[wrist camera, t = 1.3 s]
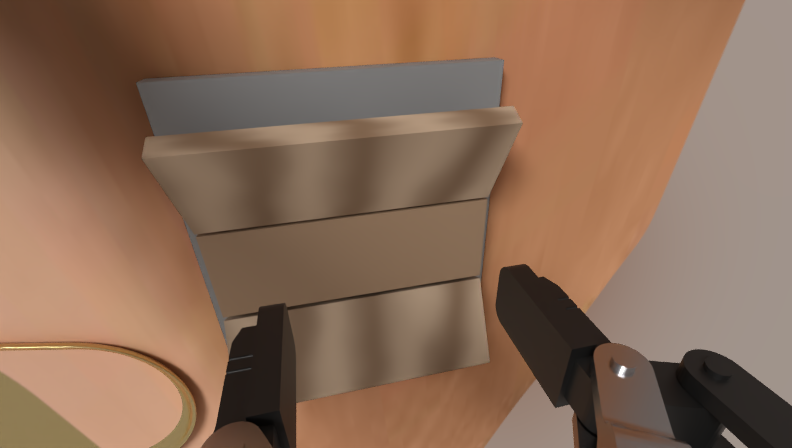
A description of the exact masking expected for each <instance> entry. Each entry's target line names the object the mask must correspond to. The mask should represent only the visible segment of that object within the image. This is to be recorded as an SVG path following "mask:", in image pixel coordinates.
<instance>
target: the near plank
mask: <svg viewBox="0 0 792 448" xmlns="http://www.w3.org/2000/svg"><path fill="white" fill-rule="evenodd" d="M522 124H523V123H522V121H521V119H520V117H519V115H518V113H517V111H516V109H515V108H514V106H506V107H494V108H483V109H471V110H459V111H447V112H435V113H424V114H412V115H400V116H388V117H377V118H365V119H353V120H341V121H330V122H318V123H306V124H294V125H283V126H271V127H259V128H247V129H235V130H224V131H212V132H200V133H188V134H177V135H165V136H153V137H145V142H144V148H143V153H142V160H143V162H144V163H145V164H146V166H147V167H148V169H149V170H150V172H151V173H152V174H153V176H154V177H155V179H156V180H157V182H158V183H159V184H160V186H161V187H162V189H163V190H164V192H165V193H166V195H167V196H168V197H169V199H170V200H171V202H172V203H173V205H174V206H175V207H176V209H177V210H178V212H179V213H180V215H181V216H182V217H183V219H184V220H185V222H186V223H187V225H188V226H189V227H190V229H191V230H192V232H193V233H194V235H196V234H203V233H211V232H219V231H227V230H235V229H242V228H250V227H258V226H266V225H274V224H281V223H289V222H297V221H305V220H312V219H320V218H328V217H336V216H344V215H351V214H359V213H367V212H375V211H383V210H390V209H398V208H406V207H414V206H422V205H429V204H437V203H445V202H453V201H460V200H468V199H476V198H484V197H488V196H489V194H490V192H491V190H492V188H493V186H494V184H495V181H496V179H497V177H498V175H499V173H500V171H501V169H502V166H503V164H504V162H505V160H506V158H507V156H508V154H509V151H510V149H511V147H512V145H513V143H514V141H515V139H516V136H517V134H518V132H519V130H520V128H521V126H522Z"/></svg>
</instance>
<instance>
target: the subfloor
mask: <svg viewBox="0 0 792 448" xmlns="http://www.w3.org/2000/svg"><path fill="white" fill-rule="evenodd" d="M503 66H504V60H502V59H499V58H479V59H462V60H446V61H429V62H413V63H396V64H380V65H363V66H347V67H330V68H314V69H297V70H280V71H264V72H247V73H231V74H214V75H198V76H181V77H165V78H148V79H143V80H141V81H139V82H136V85H137V87H138V90H139V93H140V96H141V99H142V102H143V105H144V108H145V110H146V113H147V116H148V119H149V122H150V125H151V128H152V131H153V134H154V136H165V135H177V134H188V133H200V132H212V131H224V130H235V129H247V128H259V127H271V126H283V125H294V124H306V123H318V122H330V121H341V120H353V119H365V118H377V117H388V116H400V115H412V114H424V113H435V112H447V111H459V110H471V109H483V108H494V107H499V104H500V94H501V85H502V75H503ZM489 200H490V194H489V196H488V197H484V198H476V199H468V200H460V201H453V202H445V203H437V204H429V205H422V206H414V207H406V208H398V209H390V210H383V211H375V212H367V213H359V214H351V215H344V216H336V217H328V218H320V219H312V220H305V221H297V222H289V223H281V224H274V225H266V226H258V227H250V228H242V229H235V230H227V231H219V232H211V233H203V234H196V235H194V233H193V232H192V230H191V229H190V227H189V226H188V225H187V223H186V222H185V220H184V219H183V220H184V223H185V226H186V229H187V231H188V234H189V237H190V240H191V243H192V246H193V249H194V252H195V255H196V257H197V260H198V263H199V266H200V269H201V272H202V275H203V278H204V280H205V283H206V286H207V289H208V292H209V295H210V298H211V301H212V303H213V306H214V309H215V312H216V315H217V318H218V321H219V324H220V327H221V329H222V332H223V335H224V338H225V341H226V344H227V339H226V333H225V326H224V320H225V319H226V318H227V317H230V316H236V315H242V314H248V313H254V312H258V310H259V307H261V306H267V305H273V304H280V303H286V306H287V307H291V306H297V305H303V304H309V303H315V302H321V301H327V300H333V299H339V298H345V297H351V296H357V295H363V294H369V293H375V292H381V291H387V290H393V289H399V288H405V287H411V286H417V285H423V284H429V283H435V282H441V281H447V280H453V279H459V278H465V277H471V276H475V277H478V278H480V283H481V276H482V267H483V257H484V248H485V238H486V228H487V219H488V209H489ZM227 347H228V346H227Z"/></svg>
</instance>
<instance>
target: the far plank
mask: <svg viewBox="0 0 792 448" xmlns="http://www.w3.org/2000/svg"><path fill="white" fill-rule="evenodd" d="M287 310H288V315H289V319H290V324H291V328H292V333H293V337H294V342H295V350H296V403H298V402H303V401H308V400H313V399H317V398H322V397H327V396H332V395H336V394H341V393H346V392H351V391H356V390H360V389H365V388H370V387H375V386H379V385H384V384H389V383H394V382H398V381H403V380H408V379H413V378H418V377H422V376H427V375H432V374H437V373H441V372H446V371H451V370H456V369H461V368H465V367H470V366H475V365H480V364H484V363H489V362H490V359H489V350H488V342H487V334H486V325H485V317H484V308H483V300H482V292H481V283H480V278H478V277H475V276H471V277H465V278H459V279H453V280H447V281H441V282H435V283H429V284H423V285H417V286H411V287H405V288H399V289H393V290H387V291H381V292H375V293H369V294H363V295H357V296H351V297H345V298H339V299H333V300H327V301H321V302H315V303H309V304H303V305H297V306H291V307H287ZM257 317H258V312H254V313H248V314H242V315H236V316H230V317H227V318H226V319H225V320H224V326H225V333H226V339H227V346H228V353H229V354H230V349H231V344H232V342H233V340H234V339H235V337H236V336H237V334H238V333H239V331H240V330H241V329H242V328H244V327H250V326H256V325H257Z"/></svg>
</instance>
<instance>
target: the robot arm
mask: <svg viewBox="0 0 792 448" xmlns="http://www.w3.org/2000/svg"><path fill="white" fill-rule="evenodd" d="M496 312H497V316H498V318H499V321H500V323H501V324H502V326H503V327H504V329H505V330H506V332H507V334H508V335H509V337H510V338H511V340H512V341H513V343H514V344H515V346H516V348H517V349H518V351H519V352H520V354H521V355H522V357H523V358H524V360H525V362H526V363H527V365H528V366H529V368H530V369H531V371H532V372H533V374H534V376H535V377H536V379H537V380H538V382H539V383H540V385H541V387H542V388H543V390H544V391H545V393H546V394H547V396H548V397H549V399H550V401H551V402H552V404H553V405H554V406H555V408H557V407H561V406H565V405H570V406H571V407H572V409H573V410H574V415H573V418H572V423H573V436H574V448H735V447H734V446H733V445H732V444H731V443H730V442H728V441H727V439H726V438H724V437H723V436H722V435H721V434H722V432H723V431H724V429H725V428H727V429H728V430H729V431H730V432H732V433H733V434H734V435H735V436H736V437H737V438H738V439H739V440H740V441H741V442H742V443H743V444H745V445H746V446H747V447H748V448H792V406H791V405H790V404H788V403H787V402H786V401H785V400H783V399H782V398H781V397H779V396H778V395H777V394H775V393H774V392H773V391H772V390H770V389H769V388H768V387H766V386H765V385H764V384H762V383H761V382H760V381H758V380H757V379H756V378H755V377H753V376H752V375H751V374H749V373H748V372H747V371H745V370H744V369H743V368H742V367H740V366H739V365H738V364H736V363H735V362H733V361H732V360H730V359H728V358H727V357H724V356H722V355H720V354H718V353H715V352H712V351H708V350H699V349H698V350H691V351H688V352H687V353H686V354H685V355H684V357H683V359H682V361H681V363H670V362H657V361H648V360H647V359H646V358H645V357H644V356H643V355H642V354H640V353H639V352H638V351H636V350H634V349H632V348H630V347H628V346H625V345H622V344H617V343H611V342H610V341H609V340H608V338H607V337H606V336H605V335H604V334H603V333H602V332H601V331H600V330H599V329H598V328H597V327H596V326H595V325H594V323H593V322H592V321H591V320H590V319H589V318H588V317H587V316H586V315H585V314H584V313H583V312H582V311H581V310H580V308H577V305H576V304H575V303H574V302H573V301H572V300H571V299H569V297H568V296H567V294H566V293H565V292H564V291H563V290H562V289H561V288H560V287H559V286H558V285H556V284H555V283H553V282H551V281H550V280H548V279H546V278H545V277H539V278H538V277H537V275H536V274H535V273H534V272H533V271H532V270H531V269H530V268H529V267H528V266H527V265H526V264H521V265H515V266H509V267H503V268H502V269H501V271H500V275H499V282H498V290H497V297H496ZM201 448H296V350H295V342H294V337H293V333H292V328H291V324H290V319H289V315H288V310H287V306H286V303H280V304H273V305H267V306H261V307H259V310H258V317H257V325H256V326H250V327H244V328H242V329H241V330H240V331H239V333H238V334H237V336H236V337H235V339H234V340H233V342H232V344H231V349H230V354H229V362H228V365H227V370H226V375H225V381H224V386H223V391H222V396H221V402H220V407H219V412H218V417H217V423H216V427H215V430H214V433H213V434H212V435H211V436H210V437H209V438H208V439H207V440H206V441H205V443H204V444H203V445H202V447H201Z"/></svg>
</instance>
